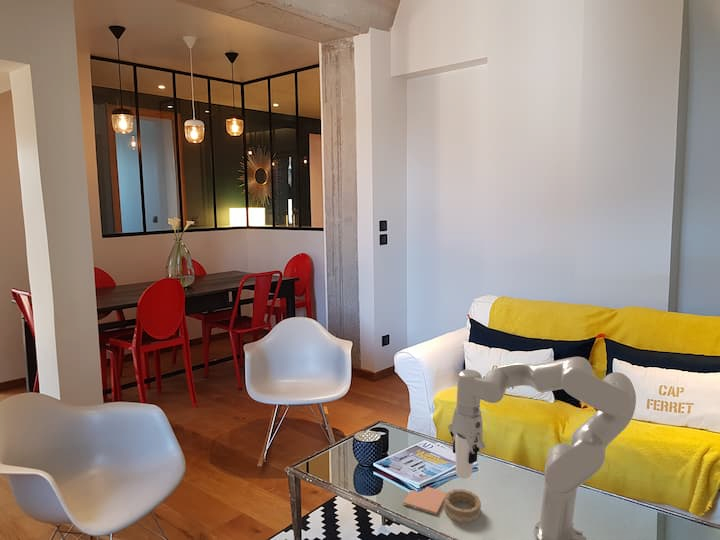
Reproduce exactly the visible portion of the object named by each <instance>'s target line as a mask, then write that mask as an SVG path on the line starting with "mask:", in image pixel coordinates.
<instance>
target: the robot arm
mask: <svg viewBox="0 0 720 540" xmlns="http://www.w3.org/2000/svg"><path fill="white" fill-rule="evenodd" d="M520 386H525V387H526V386H527V387H530V388H531V387H532V388H534V390H536V391H537V392H538V393H547V392H552V391H558V390H564V391H565V392H566V393H567V394H568V395H569V396H571V397H572V398H574V399H576V400H578V401H580V402H581V403H583V404H585V405H588V406H590V407H592V408H593V409H596V410H597V411H595V412H594V413H593V415H591V416H590V417H589V418H588V419H587V420H586V421H585V422H583V423H581V425H580V426H578V427H577V428H576V429H575V430H574V431H573V432H572V433H571V434H572V435H571V438H570V444H568V443H564V442H562V443H561V442H560V443H556V444H554V445H553V446H552V447H551V448H550V449H549V450H548V453H547V455H546V461H545V466H544V467H545V468H544V475H543V476H544V486H543V492H542V493H543V494H542V501H541V511H540V521H538V522H537V523H536V524H535V525H534V528H533V533H534V536H535V538H536V539H537V540H587V536H585V535H583V533H584V531H582V530H578V529H576V528H574V522H573V521H574V512H575V506H576V505H575V504H576V498H577V491H578V488H579V487H581V485H583V484H584V483H586V481H588V480H589V479H591V478H592V477H593V476H594V475H595V474H596V473H598V472H599V470H600V469H601V468H602V467H603V466H604V463H605V459H606V449H607V447H608V446H609V444H610V443H612V441H614V440H615V439H616V438H617V437H618V436H619V435H620V434H622V432H623V431H624V430H625V429H626V428H627V427H628V425H629V424H630V423H631V420H632V419H633V416H634V414H635V411H636V407H637V406H636V404H637V395H636V391H635V387H634V385H633V383H632V380H631V379H630V378H629V377H628V376H627V375H625V374H624V373H622V372H618V371H615V372H611V373H608V374H606V376H605V377H604V378H603V379H600V378H599V377H597V376H595V375H594V370H593V367H592V364H591V363H590V362H589V360H588V359H586V357H581V356H572V357H566V358H562V359H557V360H552V361H547V362H542V363H537V364H530V363H529V364H528V363H512V364H506V365H502V366H497V367H495V368H492V369H490V370H489V371H488V372H487V373H486V374H485V376H484V377H482V374H481V373H480V372H479V371H477V370H474V369H463V370H461V371H459V373H458V377H457V388H456V389H457V390H456V391H457V392H456V401H455V402H456V403H455V408H454V412H453V416H452V422H451V424H449V425H448V426H447V427H448V430H449V434H450V436H451V441H452V442H453V444H452V453H453V454H455V438H456V433H457V435H458V436H459V437H461V438H463V439H467V443H468V444H469V445H470V450H471V452H470V453H469V463H470V464H472V463H473V464H475V463H476V462H477V461H478V452H480V451H482V450H483V449H485V448H486V445H485V443H484V441H483V433H484V432H483V431H484V430H483V429H484V428H483V425H484V424H483V418H482V411H481V410H480V409H481V400H482V401H484V402H487V403H491V404H496V403H500V401H502V399H503V398H504V395H505V393H506V392H507V389H509V388H513V387H520ZM473 445H475V449H474V447H473Z"/></svg>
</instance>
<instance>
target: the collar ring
mask: <svg viewBox="0 0 720 540" xmlns="http://www.w3.org/2000/svg"><path fill="white" fill-rule="evenodd" d="M455 502H456V503H459V502H461V503H465V504H469V505H470V506H471V507H472V508H470V509H469V508H467V509H462V508H459V507H455V506H454V505H453V503H455ZM481 506H482V503H481V499H480V498H479V496H478V495H477V494H475V493H474V492H472V491H469V490H466V489H463V488H462V489H461V488H459V489H452V490H450V491H448V492H447V494H446V496H445V498H444V502H443V510H444V511H443V512H444V514H445V515H446V516H447V517H448V518H450V519H451V520H453V521H455V522H459V523H472V522H474V521H476V520H478V519H479V517H480V514H481V508H482V507H481Z"/></svg>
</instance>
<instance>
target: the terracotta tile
mask: <svg viewBox="0 0 720 540" xmlns="http://www.w3.org/2000/svg"><path fill="white" fill-rule="evenodd" d="M447 493H448V492H447V491H444V490H440V489H437V488H434V487H431V486H427V487H426V488H425V489H423V490H422V491H419V492H416V491H414V490H411V489H410V491H409V492H408V493H407V495H406V497H405V499H404V500H403V503H402V504H406V505H410V506H412V507H411V508H413V507H416V508H418V509H417V510H419V509H421V510H420V511H422V510H424V512H426V513H429V512H430V514H432V513H433V514H432V515H435V514H436V515H438V513H439V512H440V509H441V507H442V506H443V505H444V498H445V496H446V494H447ZM406 505H405V506H406ZM416 508H415V509H416Z"/></svg>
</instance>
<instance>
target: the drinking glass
mask: <svg viewBox="0 0 720 540" xmlns="http://www.w3.org/2000/svg"><path fill="white" fill-rule="evenodd" d="M473 447H474V449H475V445H473ZM470 452H471V450H470V445H469V444H468V443H467V439H463V438H461V437H459V436H458V435H457V433H456V438H455V453H454V455H455V474H456V476H457V477H459V478H461V479H469V478H471V476H472V474H473V467H474V466H473V465H474V463H472V464H470V463H469V453H470Z"/></svg>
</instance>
